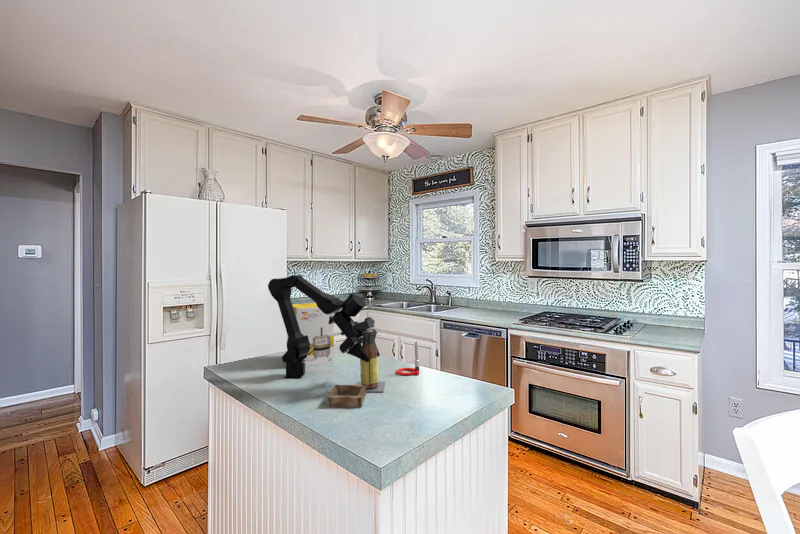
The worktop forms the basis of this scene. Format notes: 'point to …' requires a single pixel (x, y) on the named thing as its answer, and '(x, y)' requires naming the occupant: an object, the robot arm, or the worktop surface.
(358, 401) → the holder frame
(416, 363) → the tow hook
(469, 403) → the worktop surface
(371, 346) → the sauce bottle
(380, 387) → the slate tile
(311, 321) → the packaging box
